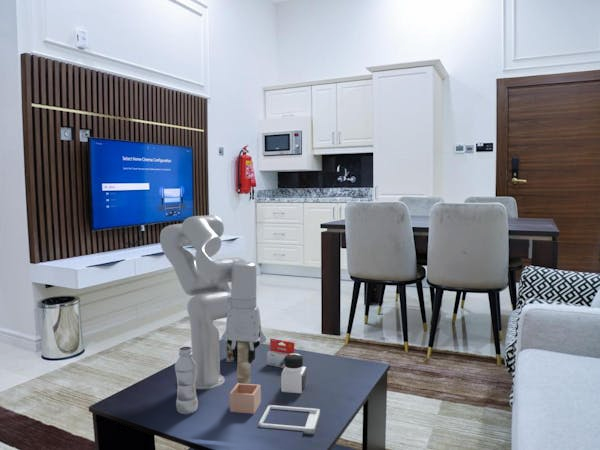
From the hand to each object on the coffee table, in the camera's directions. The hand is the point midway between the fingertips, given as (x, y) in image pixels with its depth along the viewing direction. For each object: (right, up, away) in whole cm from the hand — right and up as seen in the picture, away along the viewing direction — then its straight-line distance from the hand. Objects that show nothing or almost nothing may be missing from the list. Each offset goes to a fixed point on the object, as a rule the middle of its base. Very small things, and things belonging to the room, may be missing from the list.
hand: (243, 360), depth 148 cm
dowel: (0, -7, +1) cm, 6 cm away
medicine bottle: (+15, -14, +14) cm, 25 cm away
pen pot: (0, -15, +1) cm, 15 cm away
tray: (+14, -16, -7) cm, 22 cm away
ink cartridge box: (+10, -12, +36) cm, 39 cm away
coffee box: (-7, -12, +43) cm, 45 cm away
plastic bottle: (-17, -16, -1) cm, 23 cm away
